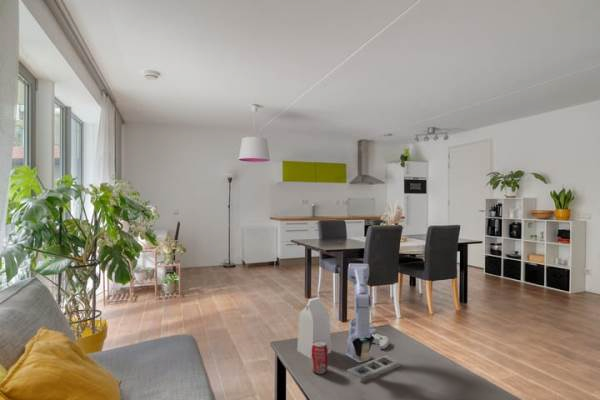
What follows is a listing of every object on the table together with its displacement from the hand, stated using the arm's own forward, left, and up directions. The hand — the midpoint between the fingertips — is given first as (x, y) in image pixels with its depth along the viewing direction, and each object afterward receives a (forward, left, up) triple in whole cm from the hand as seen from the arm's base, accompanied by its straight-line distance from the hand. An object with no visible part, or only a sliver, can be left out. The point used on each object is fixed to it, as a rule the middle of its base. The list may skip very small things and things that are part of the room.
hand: (362, 354), depth 145 cm
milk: (-29, -4, -9) cm, 31 cm away
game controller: (-18, +28, -9) cm, 35 cm away
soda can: (-13, -13, -9) cm, 21 cm away
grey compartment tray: (0, +7, -9) cm, 11 cm away
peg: (0, 0, -2) cm, 2 cm away
